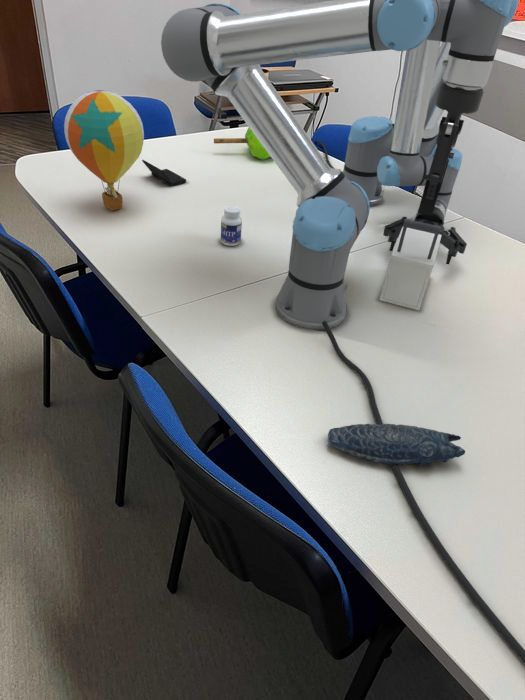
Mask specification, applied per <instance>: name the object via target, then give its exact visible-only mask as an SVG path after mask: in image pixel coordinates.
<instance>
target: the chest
mask: <svg viewBox="0 0 525 700" xmlns="http://www.w3.org/2000/svg"><path fill="white" fill-rule="evenodd" d="M386 269H387V270H386V273H385V277H384V279H383V284H382V287H381V293H380V296H379V301H381V302H385V303H389V304H393V305H396V306H400V307H404V308H407V309H411V310H414V311H420V309H421V306H422V304H423V301H424V300H423V299H424V297H425V294H426V290H427V287H428V284H429V281H430V278H431V275H432V272H433V269H429V268H425V267H421V266H417V265H413V264H409V263H404V262H400V261H396V260H392V259H390V258H389V261H388V265H387V268H386Z"/></svg>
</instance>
